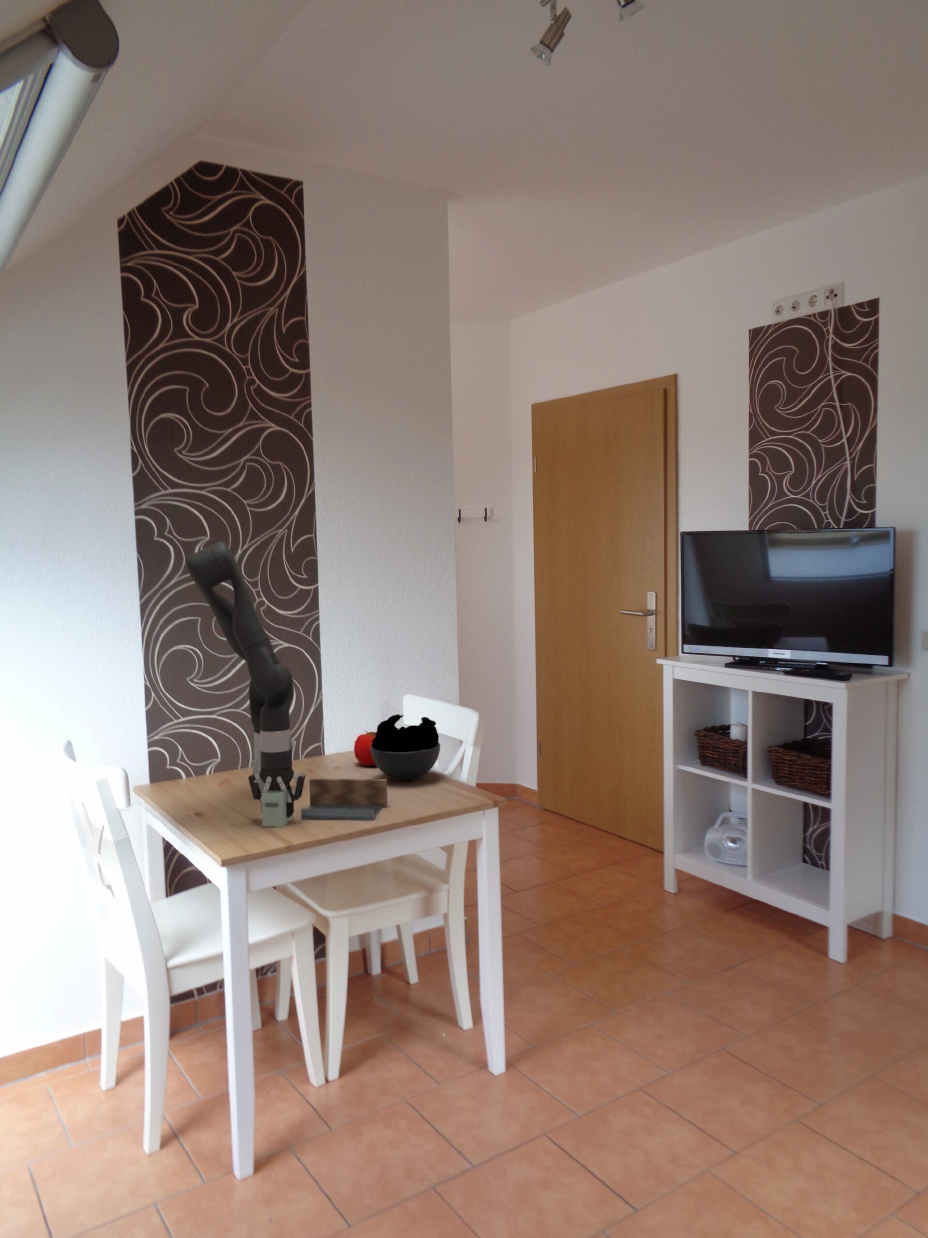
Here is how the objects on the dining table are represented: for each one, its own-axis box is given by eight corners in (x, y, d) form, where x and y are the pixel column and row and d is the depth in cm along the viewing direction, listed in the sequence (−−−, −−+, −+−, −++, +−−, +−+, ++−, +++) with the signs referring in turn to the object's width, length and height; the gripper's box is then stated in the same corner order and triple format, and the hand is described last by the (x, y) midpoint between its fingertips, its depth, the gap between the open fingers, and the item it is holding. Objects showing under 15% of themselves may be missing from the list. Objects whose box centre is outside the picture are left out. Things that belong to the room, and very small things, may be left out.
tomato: (358, 760, 285) (357, 727, 285) (394, 760, 284) (393, 727, 283) (350, 769, 274) (349, 735, 273) (387, 769, 272) (386, 735, 272)
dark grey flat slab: (301, 819, 223) (301, 809, 222) (313, 806, 234) (313, 797, 233) (373, 820, 221) (373, 810, 220) (382, 807, 231) (382, 798, 231)
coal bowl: (358, 778, 262) (356, 714, 260) (416, 768, 273) (414, 706, 272) (395, 792, 246) (393, 724, 244) (454, 780, 257) (453, 715, 256)
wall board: (310, 806, 234) (309, 779, 233) (311, 805, 235) (310, 778, 235) (386, 807, 231) (385, 780, 231) (387, 806, 233) (386, 779, 232)
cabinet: (261, 828, 216) (260, 795, 216) (273, 817, 225) (272, 785, 224) (282, 828, 216) (280, 795, 215) (293, 817, 224) (292, 785, 224)
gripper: (241, 750, 216) (244, 820, 218) (300, 751, 215) (302, 821, 216) (252, 744, 224) (254, 811, 225) (309, 744, 222) (311, 812, 223)
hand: (278, 816), depth 221 cm, fingers closed on cabinet, 5 cm apart
